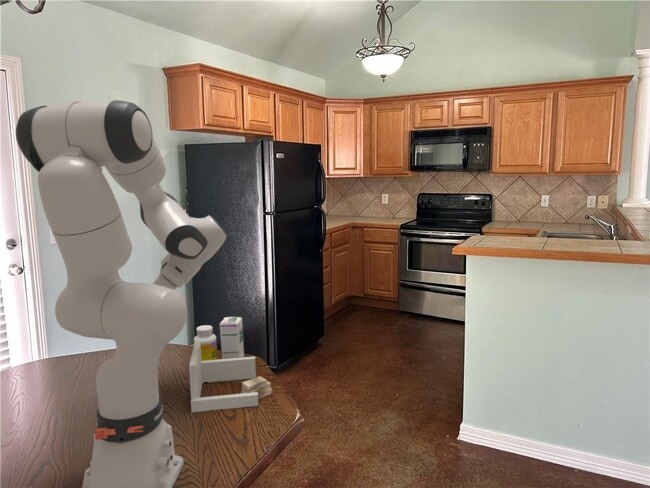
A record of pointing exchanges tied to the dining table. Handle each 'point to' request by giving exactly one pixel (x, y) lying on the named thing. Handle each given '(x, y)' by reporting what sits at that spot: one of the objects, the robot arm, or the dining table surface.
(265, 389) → the offcut stack
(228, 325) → the syrup box
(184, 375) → the dining table surface
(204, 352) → the supplement bottle
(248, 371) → the offcut rack
